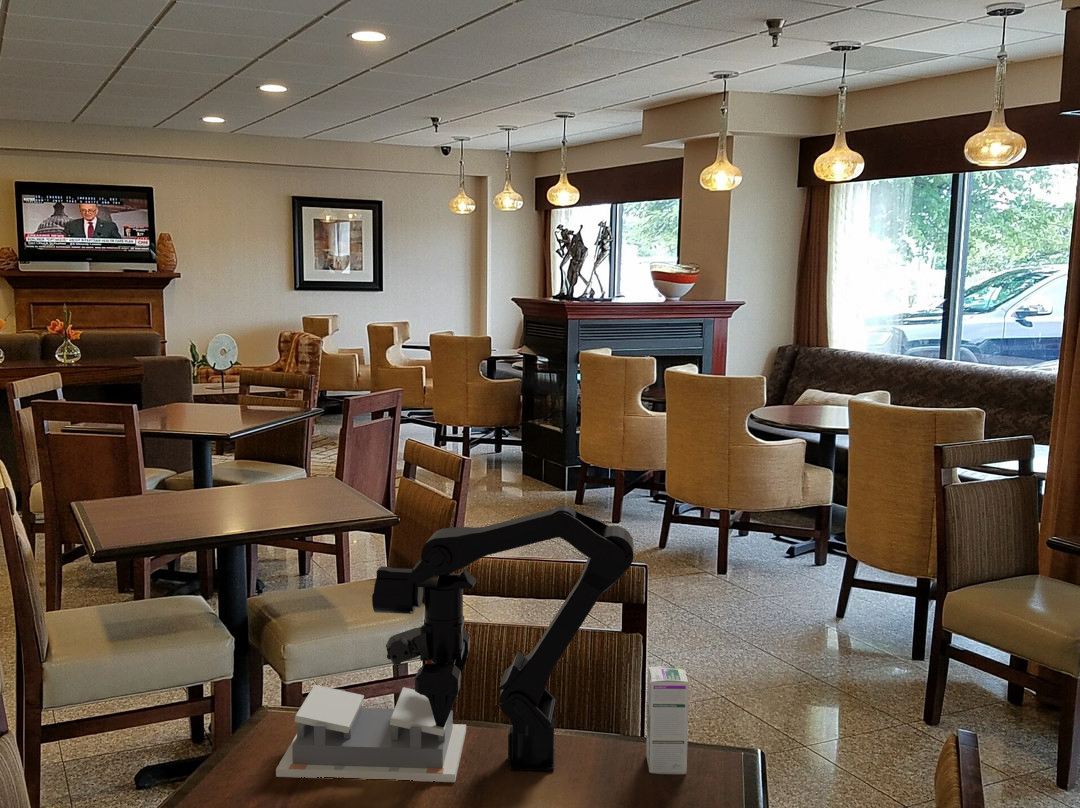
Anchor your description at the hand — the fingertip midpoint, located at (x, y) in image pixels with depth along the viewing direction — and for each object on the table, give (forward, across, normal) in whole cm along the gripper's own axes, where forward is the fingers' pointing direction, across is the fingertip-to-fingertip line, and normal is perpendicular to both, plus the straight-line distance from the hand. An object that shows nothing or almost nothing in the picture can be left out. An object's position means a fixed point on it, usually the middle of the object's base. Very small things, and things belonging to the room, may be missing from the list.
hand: (444, 713), depth 149 cm
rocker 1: (0, 0, -17) cm, 17 cm away
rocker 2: (0, 0, -3) cm, 3 cm away
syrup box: (+7, +1, +34) cm, 34 cm away
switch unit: (+6, 0, -10) cm, 12 cm away
